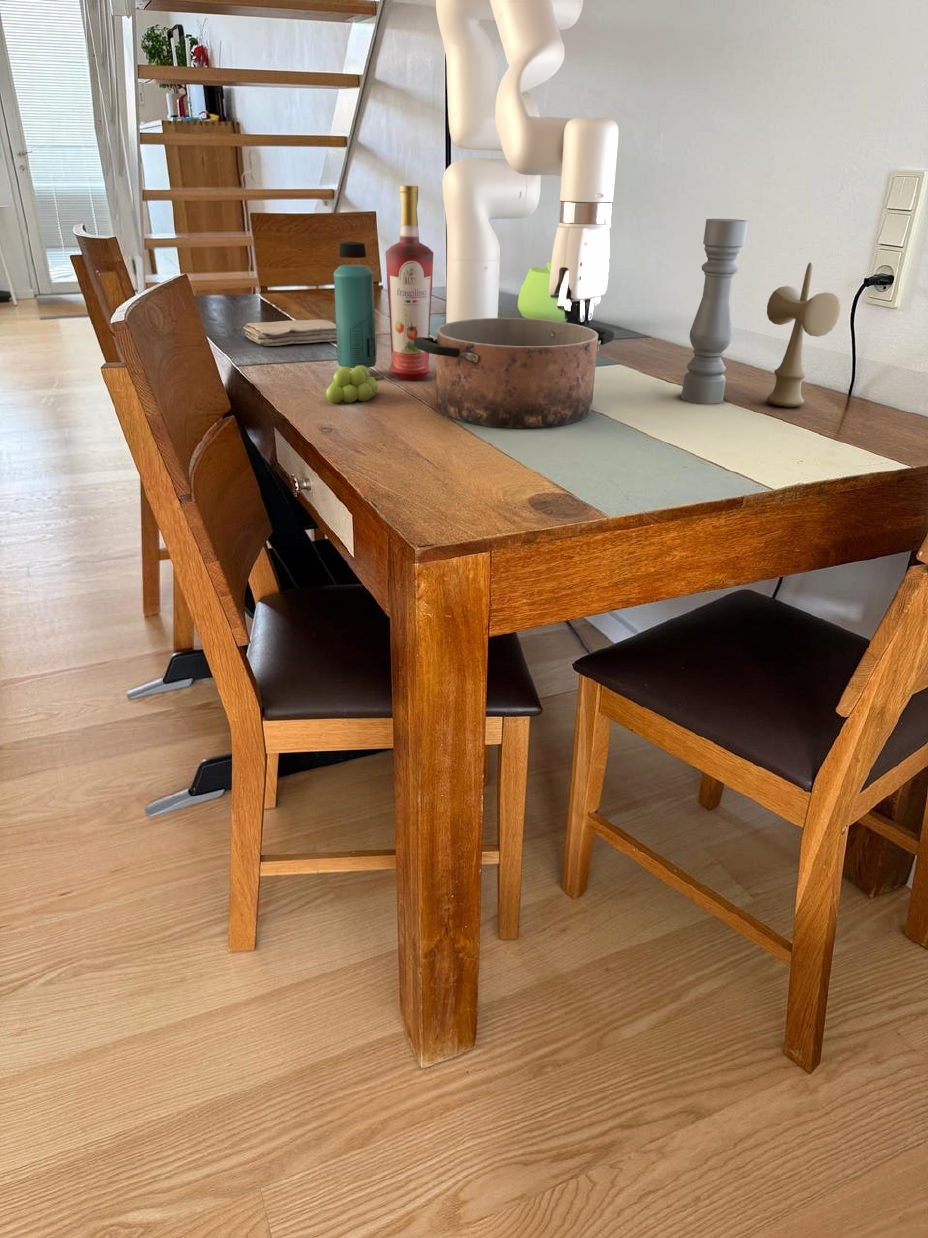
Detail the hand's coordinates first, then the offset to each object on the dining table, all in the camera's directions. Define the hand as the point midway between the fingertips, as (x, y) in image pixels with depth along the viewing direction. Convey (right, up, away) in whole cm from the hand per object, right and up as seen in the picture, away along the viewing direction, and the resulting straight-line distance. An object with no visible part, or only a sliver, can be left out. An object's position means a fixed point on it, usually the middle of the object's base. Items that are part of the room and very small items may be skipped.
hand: (576, 347), depth 140 cm
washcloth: (-49, +12, +36) cm, 62 cm away
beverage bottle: (-35, -2, +10) cm, 36 cm away
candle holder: (+19, -8, 0) cm, 21 cm away
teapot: (+1, +21, +57) cm, 61 cm away
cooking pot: (-10, -11, -8) cm, 17 cm away
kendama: (+31, -10, -2) cm, 32 cm away
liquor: (-26, -2, +9) cm, 27 cm away
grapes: (-33, -9, -4) cm, 35 cm away
